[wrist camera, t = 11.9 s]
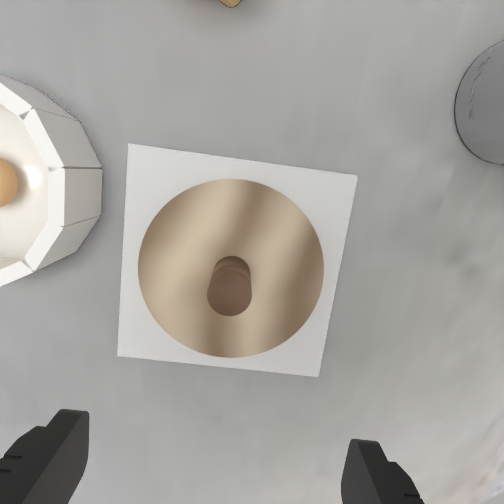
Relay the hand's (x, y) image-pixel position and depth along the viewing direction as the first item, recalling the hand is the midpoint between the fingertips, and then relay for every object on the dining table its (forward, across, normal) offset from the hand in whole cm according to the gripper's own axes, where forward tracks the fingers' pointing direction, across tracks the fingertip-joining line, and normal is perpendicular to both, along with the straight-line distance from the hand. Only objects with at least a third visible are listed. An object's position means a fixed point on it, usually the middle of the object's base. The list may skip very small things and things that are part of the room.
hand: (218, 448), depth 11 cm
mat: (+19, 0, 0) cm, 19 cm away
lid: (+19, 0, 0) cm, 19 cm away
